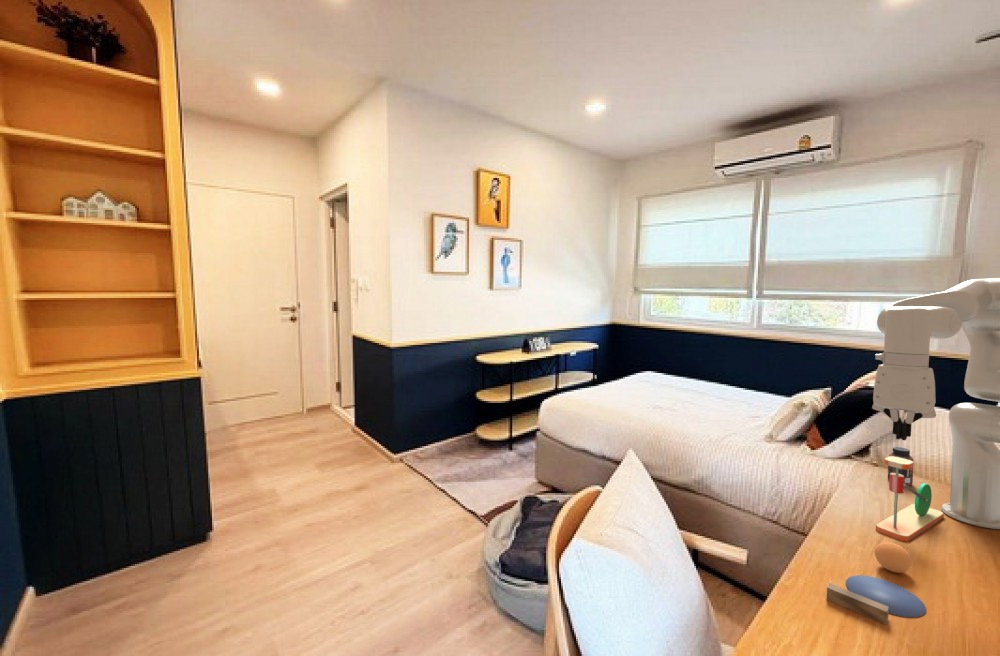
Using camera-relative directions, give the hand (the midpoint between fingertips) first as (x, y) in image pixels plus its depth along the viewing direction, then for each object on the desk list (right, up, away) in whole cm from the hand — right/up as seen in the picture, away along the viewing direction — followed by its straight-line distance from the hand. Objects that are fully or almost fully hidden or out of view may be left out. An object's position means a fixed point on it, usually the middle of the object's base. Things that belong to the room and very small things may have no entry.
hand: (901, 438), depth 97 cm
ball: (-6, -25, -4) cm, 27 cm away
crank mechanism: (+17, -27, +15) cm, 35 cm away
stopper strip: (-24, -29, -16) cm, 41 cm away
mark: (-15, -29, -12) cm, 35 cm away
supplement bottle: (+38, -25, +39) cm, 60 cm away
